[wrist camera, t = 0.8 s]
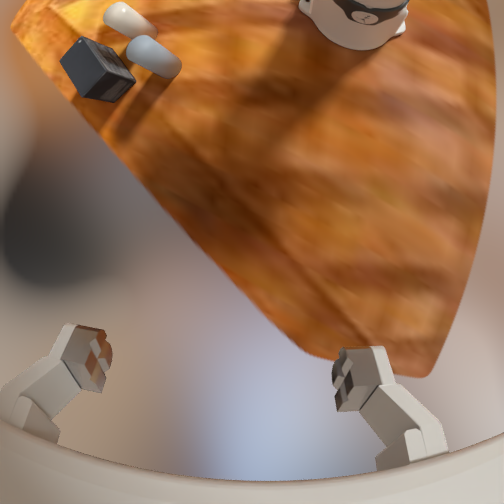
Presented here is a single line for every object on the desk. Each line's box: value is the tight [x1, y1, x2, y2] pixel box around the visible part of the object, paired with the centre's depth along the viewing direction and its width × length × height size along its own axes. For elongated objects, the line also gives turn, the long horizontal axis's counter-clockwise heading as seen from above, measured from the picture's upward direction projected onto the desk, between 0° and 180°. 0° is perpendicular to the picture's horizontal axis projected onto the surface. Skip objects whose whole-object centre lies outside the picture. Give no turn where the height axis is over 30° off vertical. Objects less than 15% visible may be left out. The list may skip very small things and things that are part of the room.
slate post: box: [126, 35, 182, 79], centre depth 40 cm, size 4×4×12 cm
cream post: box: [103, 2, 158, 40], centre depth 38 cm, size 4×4×12 cm
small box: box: [60, 36, 136, 103], centre depth 42 cm, size 11×6×10 cm, turn 36°
